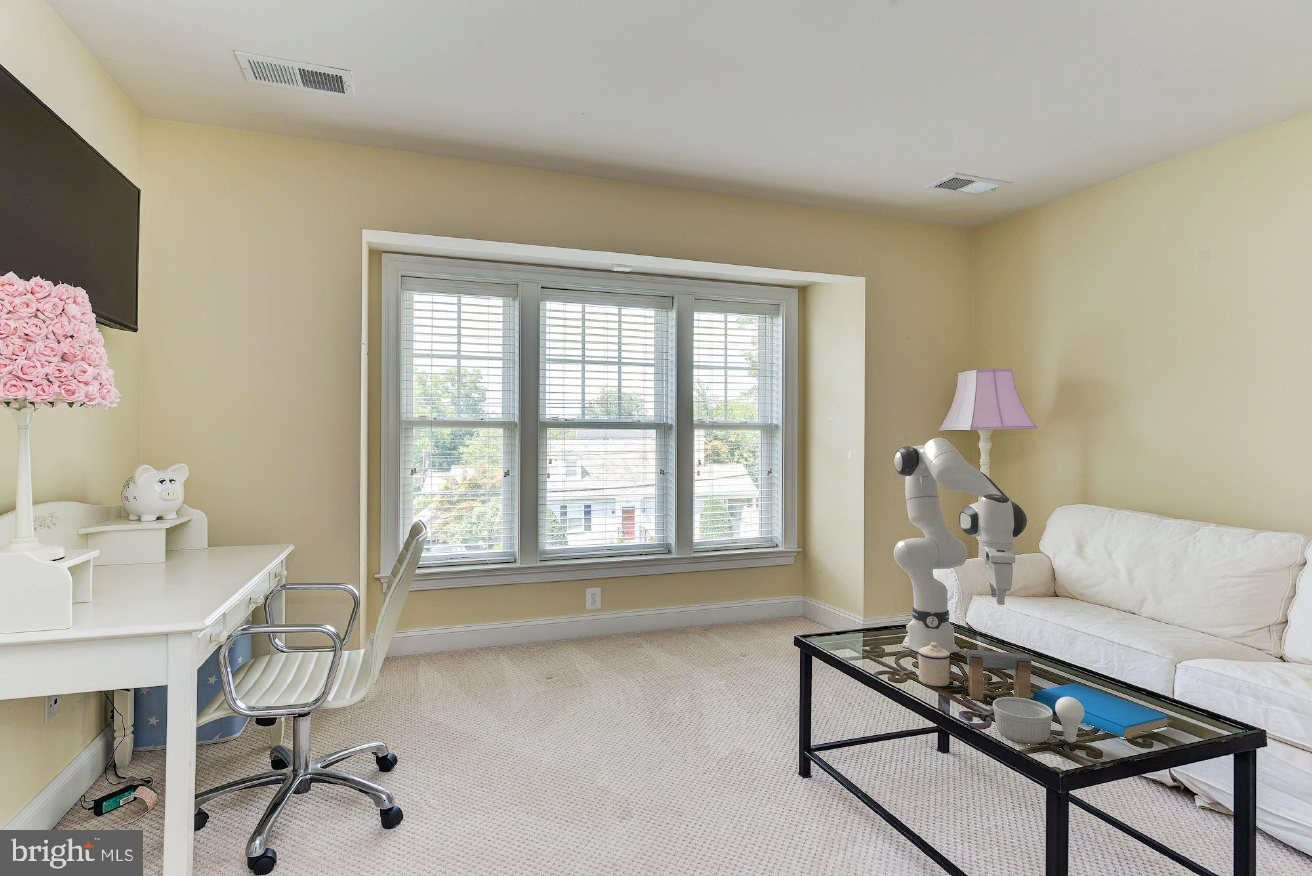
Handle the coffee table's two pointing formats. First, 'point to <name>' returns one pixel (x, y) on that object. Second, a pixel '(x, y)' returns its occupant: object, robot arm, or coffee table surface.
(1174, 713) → the coffee table surface
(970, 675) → the post
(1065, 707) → the lightbulb
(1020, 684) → the post
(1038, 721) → the ramekin
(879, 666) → the coffee table surface
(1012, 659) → the rail
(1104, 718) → the book
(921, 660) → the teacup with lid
